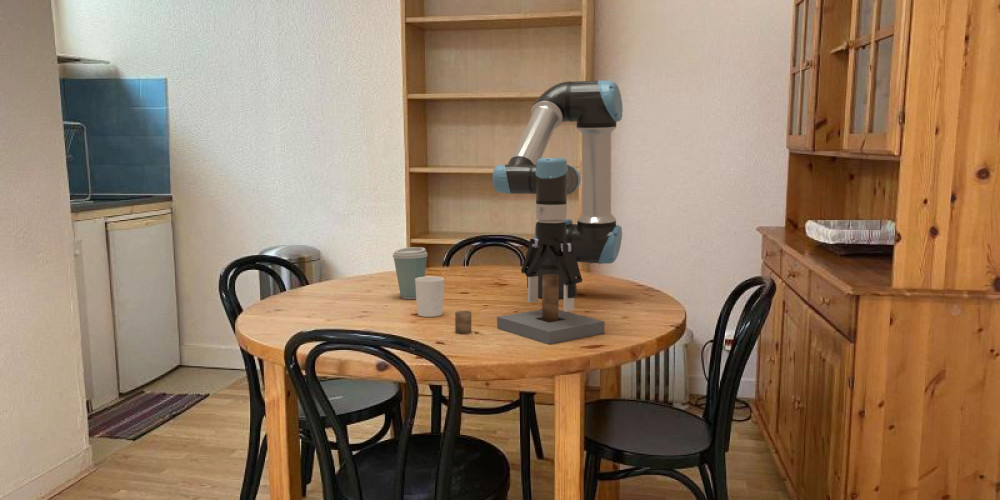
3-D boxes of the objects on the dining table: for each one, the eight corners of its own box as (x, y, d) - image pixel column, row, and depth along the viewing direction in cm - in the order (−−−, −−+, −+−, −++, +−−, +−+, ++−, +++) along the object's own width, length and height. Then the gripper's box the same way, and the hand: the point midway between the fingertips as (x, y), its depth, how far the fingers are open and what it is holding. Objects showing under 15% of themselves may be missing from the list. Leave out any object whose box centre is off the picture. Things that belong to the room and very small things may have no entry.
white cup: (422, 318, 205) (421, 282, 204) (411, 313, 212) (410, 277, 211) (449, 315, 209) (448, 279, 207) (437, 310, 216) (437, 275, 214)
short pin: (452, 331, 191) (452, 312, 190) (465, 329, 193) (465, 309, 193) (461, 334, 188) (461, 314, 187) (474, 332, 190) (474, 312, 189)
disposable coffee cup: (413, 302, 227) (413, 252, 225) (385, 298, 232) (384, 249, 230) (435, 296, 236) (434, 248, 234) (407, 292, 241) (407, 245, 239)
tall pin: (538, 330, 192) (539, 275, 190) (550, 328, 194) (551, 273, 193) (549, 333, 189) (549, 277, 187) (561, 331, 191) (562, 275, 189)
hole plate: (497, 328, 194) (497, 316, 194) (551, 318, 205) (551, 307, 205) (548, 344, 178) (548, 331, 178) (604, 333, 189) (604, 321, 189)
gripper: (507, 218, 196) (507, 300, 199) (574, 226, 176) (573, 316, 179) (530, 216, 200) (530, 296, 203) (597, 224, 180) (596, 312, 183)
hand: (550, 306), depth 191 cm, fingers open, 13 cm apart
